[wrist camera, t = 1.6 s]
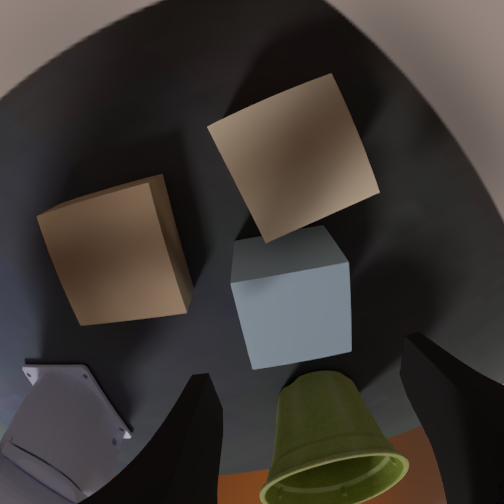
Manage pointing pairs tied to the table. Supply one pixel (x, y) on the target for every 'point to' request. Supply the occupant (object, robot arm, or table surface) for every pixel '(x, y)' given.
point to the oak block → (119, 253)
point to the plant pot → (328, 446)
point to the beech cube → (295, 157)
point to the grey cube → (292, 297)
